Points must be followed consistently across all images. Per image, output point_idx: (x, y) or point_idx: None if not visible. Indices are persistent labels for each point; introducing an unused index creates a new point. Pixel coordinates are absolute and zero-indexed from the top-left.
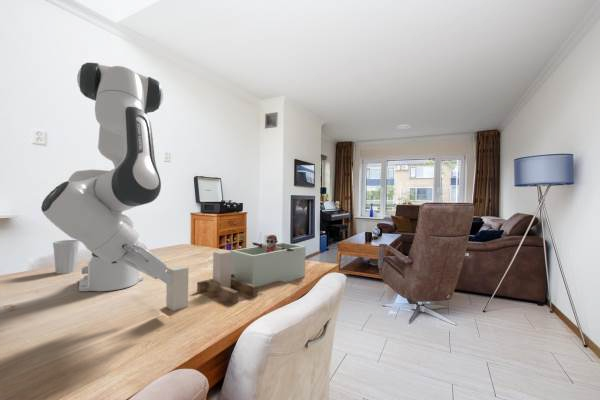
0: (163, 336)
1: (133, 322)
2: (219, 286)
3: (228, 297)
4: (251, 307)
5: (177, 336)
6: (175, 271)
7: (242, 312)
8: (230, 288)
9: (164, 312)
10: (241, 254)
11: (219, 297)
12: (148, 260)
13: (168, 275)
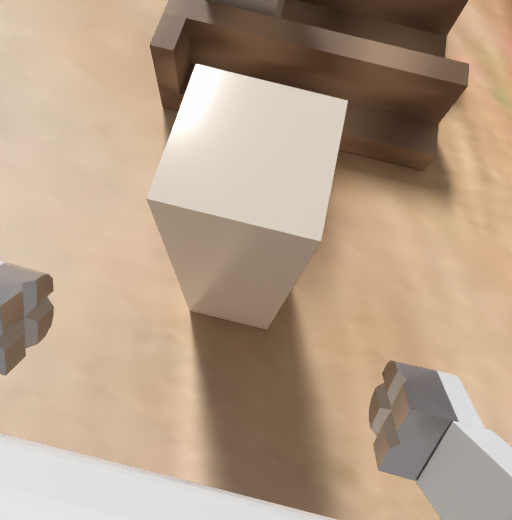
0: (423, 502)
1: None
2: (323, 47)
3: (404, 101)
4: (470, 96)
5: None
6: (321, 227)
7: (482, 148)
8: (284, 1)
9: (184, 317)
10: None
11: None
12: (1, 439)
13: (473, 413)
